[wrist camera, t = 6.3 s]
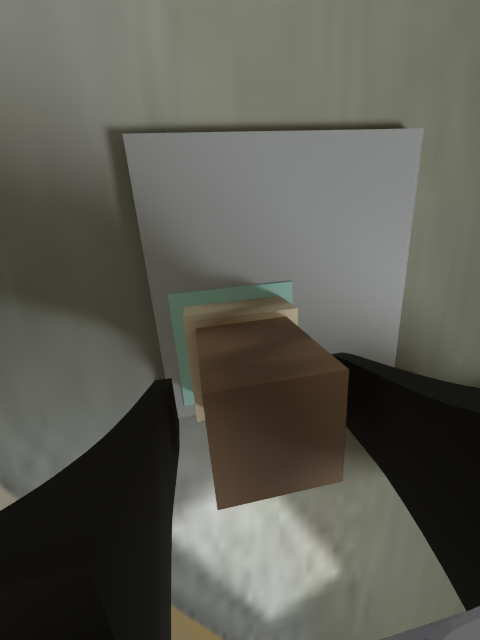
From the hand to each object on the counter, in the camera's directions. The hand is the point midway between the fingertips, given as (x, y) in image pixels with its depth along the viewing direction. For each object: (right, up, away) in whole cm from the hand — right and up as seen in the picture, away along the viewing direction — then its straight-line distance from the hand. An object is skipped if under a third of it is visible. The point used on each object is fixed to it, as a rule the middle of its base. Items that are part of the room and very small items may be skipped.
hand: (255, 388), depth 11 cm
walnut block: (0, +1, +2) cm, 2 cm away
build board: (+2, +5, +4) cm, 7 cm away
